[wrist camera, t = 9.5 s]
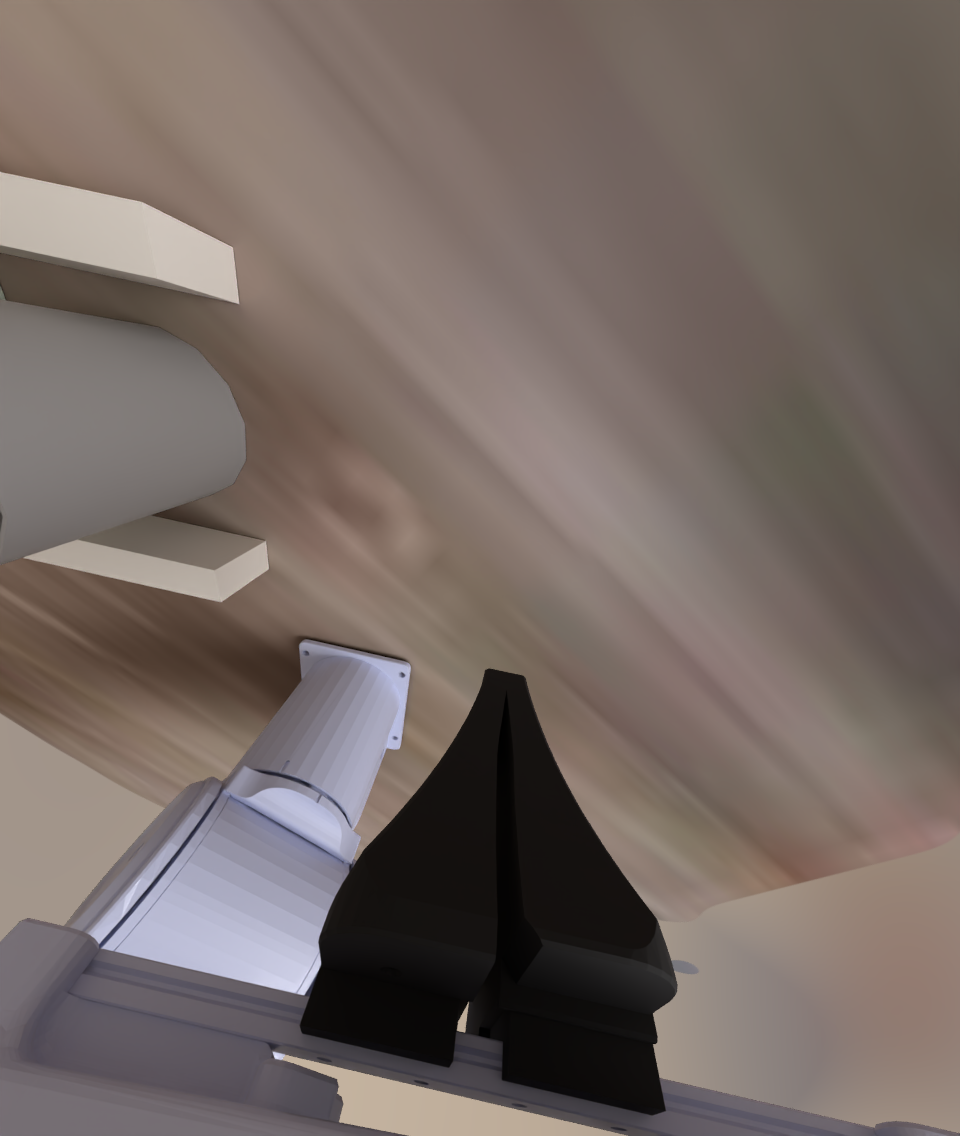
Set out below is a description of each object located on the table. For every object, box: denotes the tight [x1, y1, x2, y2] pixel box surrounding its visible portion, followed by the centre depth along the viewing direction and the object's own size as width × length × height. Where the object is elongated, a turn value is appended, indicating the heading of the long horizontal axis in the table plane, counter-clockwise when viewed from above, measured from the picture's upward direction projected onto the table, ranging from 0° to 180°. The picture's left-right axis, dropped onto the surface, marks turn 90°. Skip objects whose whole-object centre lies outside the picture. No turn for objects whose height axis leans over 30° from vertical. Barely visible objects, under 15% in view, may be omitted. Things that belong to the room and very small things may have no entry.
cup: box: [0, 300, 246, 565], centre depth 14 cm, size 8×8×10 cm
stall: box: [0, 172, 269, 602], centre depth 17 cm, size 16×14×4 cm
